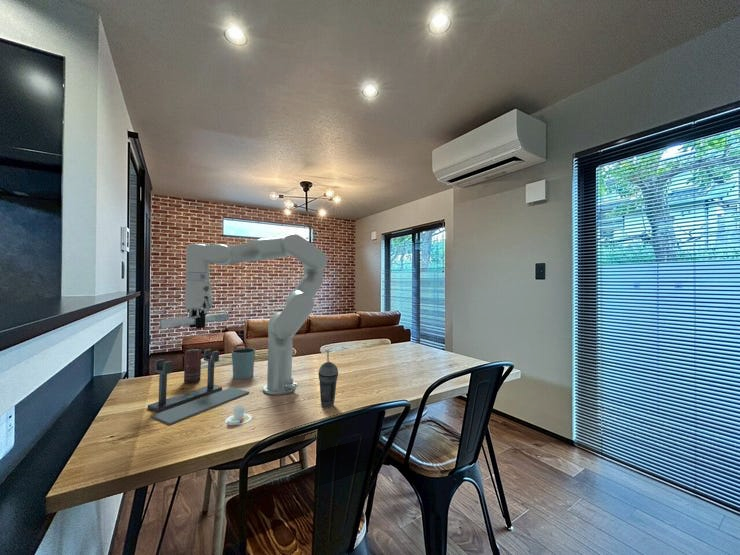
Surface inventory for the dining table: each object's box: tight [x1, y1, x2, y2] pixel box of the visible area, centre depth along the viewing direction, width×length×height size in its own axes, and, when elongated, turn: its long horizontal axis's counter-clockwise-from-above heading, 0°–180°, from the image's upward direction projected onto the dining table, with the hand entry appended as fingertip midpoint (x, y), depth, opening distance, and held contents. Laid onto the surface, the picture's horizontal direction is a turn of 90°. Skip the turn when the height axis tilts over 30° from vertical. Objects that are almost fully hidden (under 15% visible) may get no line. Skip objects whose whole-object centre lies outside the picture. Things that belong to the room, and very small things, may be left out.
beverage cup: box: [317, 349, 339, 409], centre depth 109 cm, size 7×7×20 cm
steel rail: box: [159, 312, 230, 329], centre depth 111 cm, size 24×3×3 cm, turn 152°
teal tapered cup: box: [231, 347, 256, 380], centre depth 139 cm, size 10×10×12 cm
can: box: [183, 347, 202, 385], centre depth 130 cm, size 6×6×14 cm
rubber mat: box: [150, 386, 250, 426], centre depth 107 cm, size 10×30×1 cm, turn 153°
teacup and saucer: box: [224, 405, 253, 426], centre depth 97 cm, size 9×8×4 cm
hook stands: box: [147, 348, 223, 413], centre depth 112 cm, size 6×24×16 cm, turn 153°
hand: (197, 327), depth 111 cm, fingers closed on steel rail, 3 cm apart
